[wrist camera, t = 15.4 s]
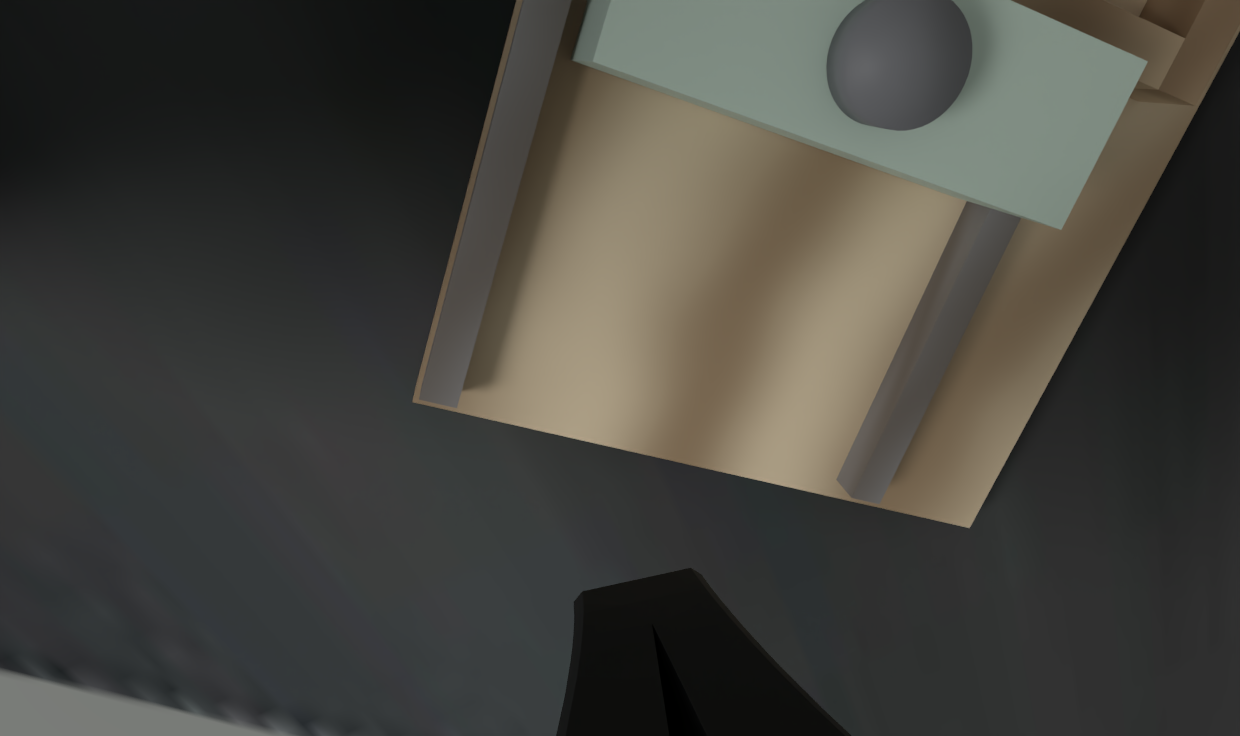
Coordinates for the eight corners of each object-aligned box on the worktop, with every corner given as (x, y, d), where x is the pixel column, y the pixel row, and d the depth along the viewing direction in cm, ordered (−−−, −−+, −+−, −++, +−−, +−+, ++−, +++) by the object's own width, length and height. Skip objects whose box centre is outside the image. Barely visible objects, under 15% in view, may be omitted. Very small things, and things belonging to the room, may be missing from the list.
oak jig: (416, 384, 18) (406, 432, 16) (768, -970, 11) (840, -1233, 9) (949, 507, 22) (1003, 561, 20) (1453, -444, 15) (1626, -534, 13)
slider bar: (570, 60, 15) (599, 61, 11) (618, -109, 14) (669, -173, 10) (954, 197, 17) (1092, 239, 13) (1018, 60, 16) (1187, 61, 12)
